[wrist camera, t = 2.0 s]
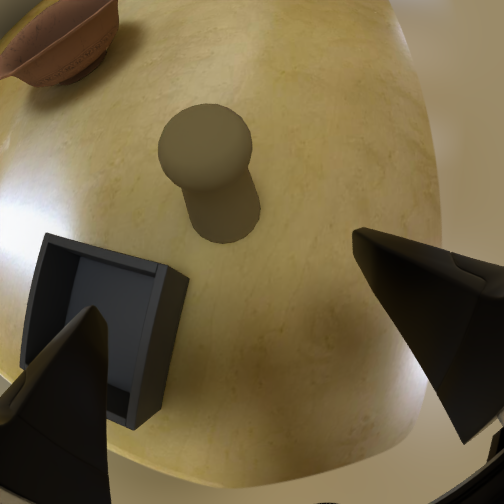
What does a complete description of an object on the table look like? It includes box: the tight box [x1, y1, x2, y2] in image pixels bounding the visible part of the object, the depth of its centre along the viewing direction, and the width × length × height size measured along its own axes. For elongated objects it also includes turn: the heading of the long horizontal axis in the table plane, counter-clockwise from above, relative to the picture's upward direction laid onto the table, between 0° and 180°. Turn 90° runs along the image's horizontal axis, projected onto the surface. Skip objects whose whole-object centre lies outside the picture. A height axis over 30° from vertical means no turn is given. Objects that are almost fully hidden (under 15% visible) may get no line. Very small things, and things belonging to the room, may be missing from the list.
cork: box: [158, 104, 261, 244], centre depth 19 cm, size 6×6×11 cm
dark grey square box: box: [20, 233, 189, 430], centre depth 19 cm, size 11×11×6 cm
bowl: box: [0, 0, 119, 87], centre depth 25 cm, size 22×22×11 cm
